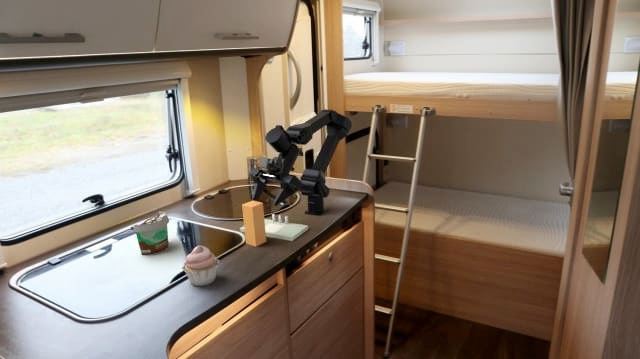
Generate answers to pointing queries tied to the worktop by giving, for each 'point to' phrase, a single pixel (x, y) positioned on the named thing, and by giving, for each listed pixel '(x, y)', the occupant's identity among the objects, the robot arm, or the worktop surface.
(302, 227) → the board
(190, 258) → the cupcake
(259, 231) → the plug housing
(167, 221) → the food container
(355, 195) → the worktop surface
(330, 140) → the robot arm
